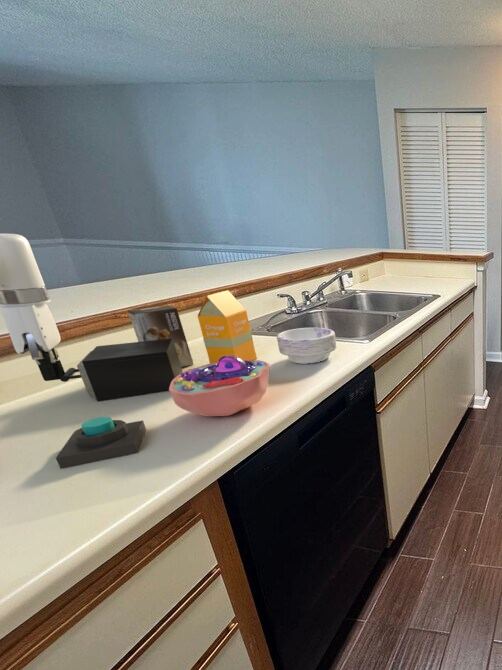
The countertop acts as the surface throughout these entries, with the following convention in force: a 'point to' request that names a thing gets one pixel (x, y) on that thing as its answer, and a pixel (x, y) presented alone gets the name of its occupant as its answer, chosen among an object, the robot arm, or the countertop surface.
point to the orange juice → (225, 327)
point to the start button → (97, 425)
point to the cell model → (221, 386)
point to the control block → (102, 444)
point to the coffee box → (161, 328)
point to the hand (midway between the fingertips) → (55, 378)
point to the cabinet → (132, 368)
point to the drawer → (70, 375)
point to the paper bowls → (307, 344)
